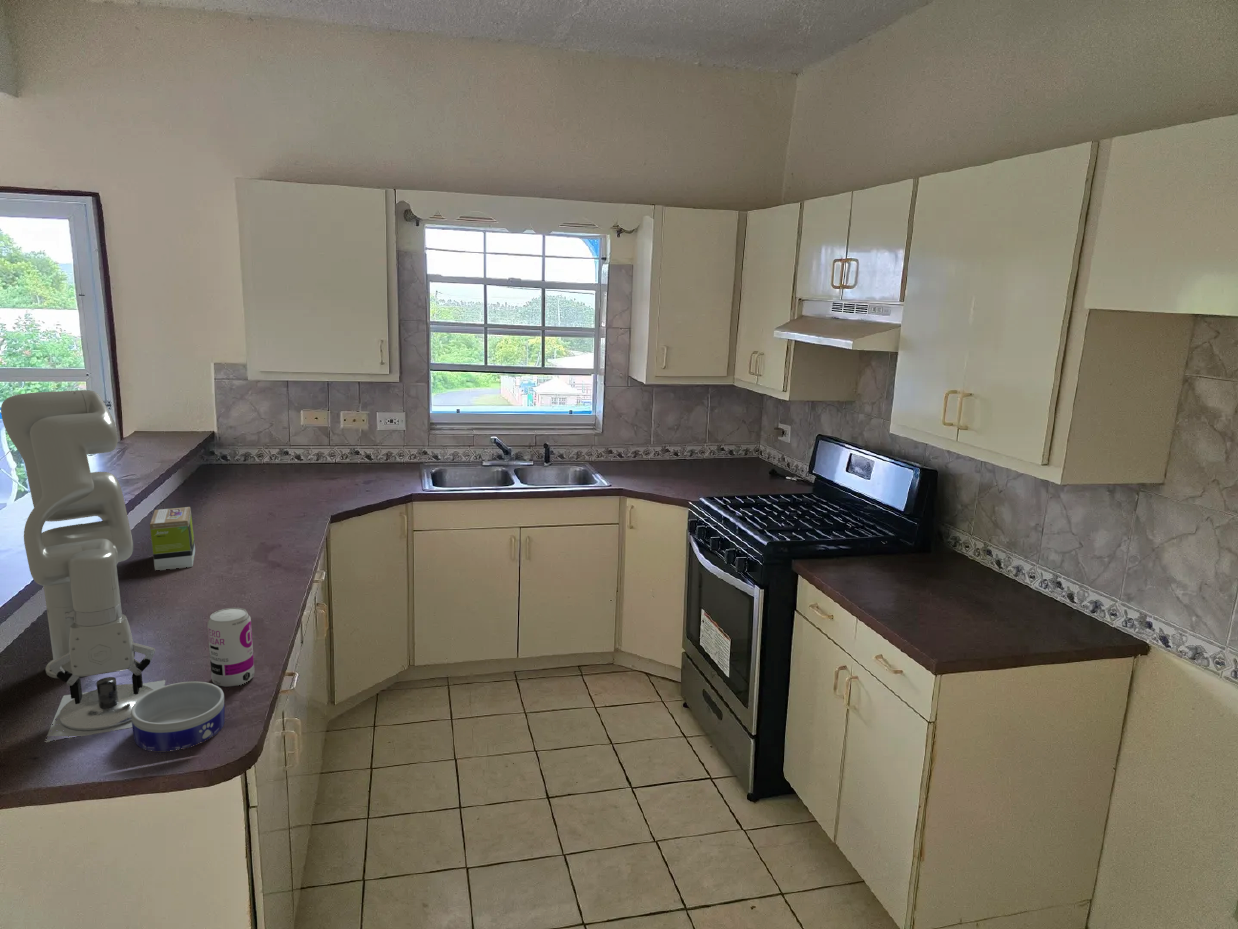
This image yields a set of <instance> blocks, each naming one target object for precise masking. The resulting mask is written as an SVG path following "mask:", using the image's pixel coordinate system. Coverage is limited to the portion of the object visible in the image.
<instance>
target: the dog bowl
mask: <svg viewBox="0 0 1238 929" xmlns="http://www.w3.org/2000/svg"><path fill="white" fill-rule="evenodd" d="M225 715H226V714H225V693H224V691H223V689H222V688H221V687H220V686H219V685H216V684H214V683H211V682H205V681H197V680H196V681H195V680H194V681H183V682H177V683H171V684H167V685H165V686H163V687H160V688H158V689H155V690H153V691H151V692H149V693H147V694H145V695H144V696H142V697H141V698H139V699H138V700H137V701H136V702H135V703H134V705H133V707H132V709H131V718H132V727H133V728H132V733H133V739H134V742H135V744H136V746H137V747H139V748H140V749H142V748H143V749H142V750H144V749H146V750H152V751H170V750H176V749H177V750H178V749H181V748H187V749H189V748H188V747H190V748H192V747H191V746H193V745H196V744H198V743H200V742H203V743H205V742H206V741H205V740H207V739H209V738H211V737H212V736H214V737H215V736H217V734H219V733H220V732H219V731H221V730H222V729H223V727H224V725H225ZM218 732H219V733H218ZM212 738H213V737H212ZM212 738H211V739H212ZM209 740H210V739H209ZM204 741H205V742H204ZM207 741H208V740H207ZM196 746H197V745H196ZM193 747H194V746H193ZM146 750H145V751H146Z"/></svg>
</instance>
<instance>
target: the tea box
mask: <svg viewBox="0 0 1238 929" xmlns="http://www.w3.org/2000/svg"><path fill="white" fill-rule="evenodd" d="M192 518H193V517H192V509H191V506H185V507H175V508H173V507H172V508H164V509H163V508H161V509H154V511H153V514H152V517H151V519H150V523H149V531H150V532H149V533H150V540H151V548H152V558H153V565H154V571H156V570H160V571H167V570H166V569H170V570H177V569H176V568H179V569H185V568H186V567H187V568H192V567H194V566H193V565H194V560H195V554H196V545H195V536H194V529H193V528H194V527H193V519H192Z"/></svg>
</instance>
